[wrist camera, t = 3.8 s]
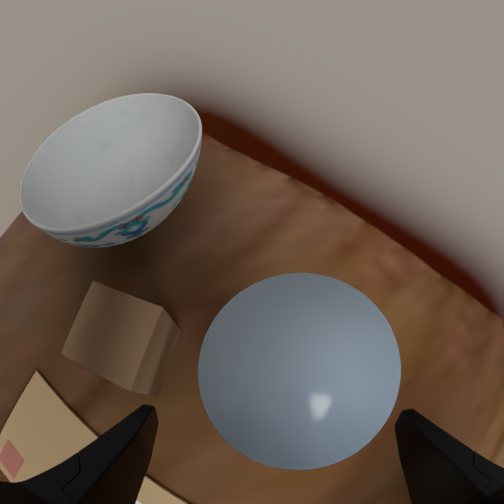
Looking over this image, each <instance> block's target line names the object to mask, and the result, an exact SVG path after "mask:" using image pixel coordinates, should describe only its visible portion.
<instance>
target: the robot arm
mask: <svg viewBox="0 0 504 504" xmlns="http://www.w3.org/2000/svg"><path fill="white" fill-rule="evenodd" d="M157 428H158V418H157V413H156V409H155V407H154V406H151V405H146V404H144V405H142V406H140V407H139V408H138V409H136V410H135V411H134V412H132V413H131V414H130V415H128V416H127V417H126V418H124V419H123V420H122V421H120V422H119V423H118V424H116V425H115V426H114V427H112V428H111V429H109V430H108V431H107V432H105V433H104V434H103V435H101V436H100V437H98V438H97V439H96V440H94V441H93V442H91V443H90V444H88V445H87V446H86V447H84V448H83V449H81V450H80V451H79V452H78V453H75V454H74V455H73V456H71V457H70V458H68V459H66V460H65V461H63V462H62V463H60V464H58V465H56V466H54V467H52V468H51V469H49V470H47V471H44V472H42V473H40V474H38V475H36V476H34V477H32V478H29V479H27V480H25V481H21V482H1V481H0V504H135V503H136V500H137V497H138V494H139V491H140V489H141V486H142V483H143V480H144V477H145V475H146V472H147V469H148V466H149V463H150V460H151V456H152V451H153V447H154V442H155V437H156V433H157ZM395 433H396V439H397V445H398V450H399V456H400V461H401V465H402V469H403V472H404V476H405V479H406V483H407V487H408V490H409V494H410V498H411V502H412V504H504V468H502V467H500V466H498V465H496V464H494V463H493V462H491V461H489V460H487V459H486V458H484V457H482V456H481V455H479V454H478V453H476V452H475V451H473V450H472V449H470V448H469V447H467V446H466V445H464V444H463V443H461V442H460V441H458V440H457V439H455V438H454V437H452V436H451V435H449V434H448V433H447V432H445V431H444V430H442V429H441V428H439V427H438V426H436V425H435V424H434V423H432V422H431V421H429V420H428V419H426V418H425V417H424V416H422V415H421V414H419V413H418V412H417V411H415V410H414V409H407V410H403V411H402V412H401V414H400V416H399V418H398V420H397V422H396V424H395Z"/></svg>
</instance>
